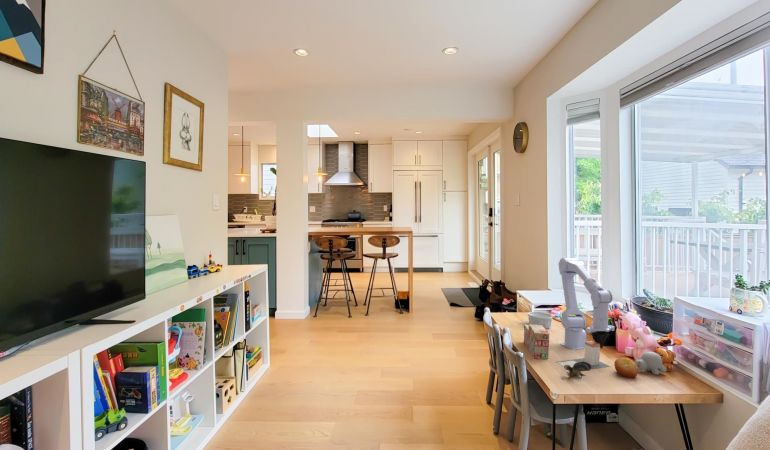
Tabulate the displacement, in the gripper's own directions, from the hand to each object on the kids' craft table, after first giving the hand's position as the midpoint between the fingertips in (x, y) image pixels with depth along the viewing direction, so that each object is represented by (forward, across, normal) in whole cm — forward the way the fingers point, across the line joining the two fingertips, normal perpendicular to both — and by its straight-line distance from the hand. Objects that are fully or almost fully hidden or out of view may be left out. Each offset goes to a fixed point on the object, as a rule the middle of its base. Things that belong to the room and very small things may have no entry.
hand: (599, 347), depth 155 cm
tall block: (+6, -4, 0) cm, 8 cm away
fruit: (+7, 0, -12) cm, 14 cm away
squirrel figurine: (+7, -21, -8) cm, 24 cm away
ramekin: (+7, +11, +50) cm, 51 cm away
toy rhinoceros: (+7, +12, -12) cm, 19 cm away
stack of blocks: (+7, -18, +19) cm, 27 cm away
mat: (+7, -9, 0) cm, 11 cm away
